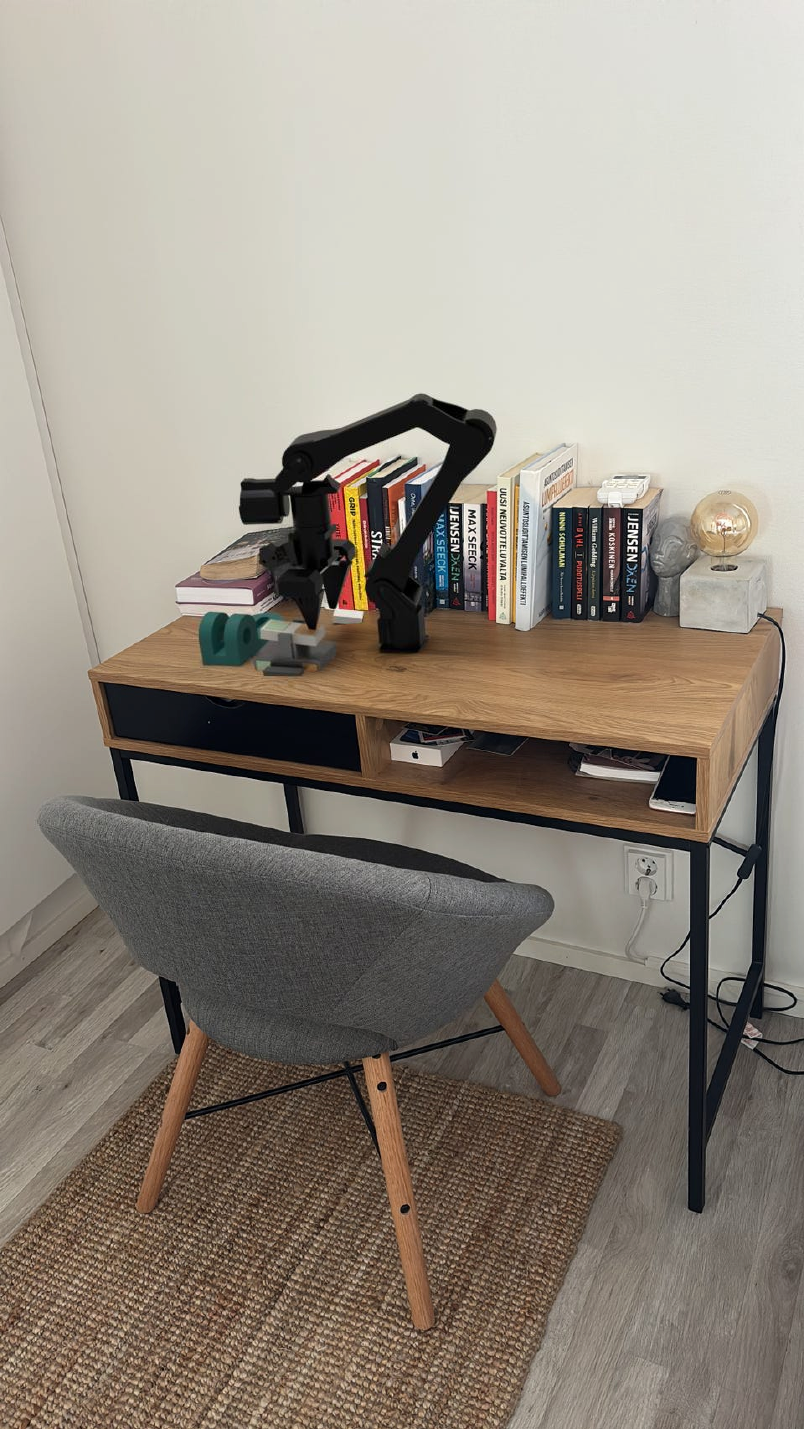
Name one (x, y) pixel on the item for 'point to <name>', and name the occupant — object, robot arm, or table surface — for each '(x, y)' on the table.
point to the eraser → (347, 616)
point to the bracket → (231, 637)
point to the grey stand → (294, 653)
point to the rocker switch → (292, 632)
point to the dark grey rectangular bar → (282, 671)
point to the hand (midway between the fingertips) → (322, 619)
